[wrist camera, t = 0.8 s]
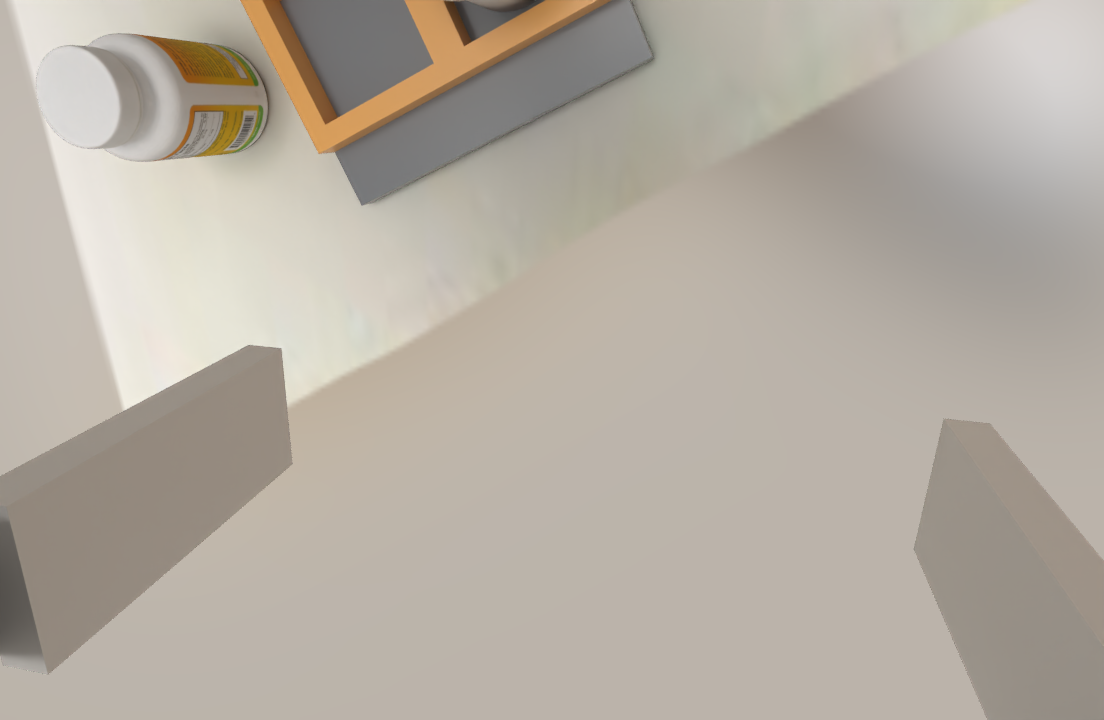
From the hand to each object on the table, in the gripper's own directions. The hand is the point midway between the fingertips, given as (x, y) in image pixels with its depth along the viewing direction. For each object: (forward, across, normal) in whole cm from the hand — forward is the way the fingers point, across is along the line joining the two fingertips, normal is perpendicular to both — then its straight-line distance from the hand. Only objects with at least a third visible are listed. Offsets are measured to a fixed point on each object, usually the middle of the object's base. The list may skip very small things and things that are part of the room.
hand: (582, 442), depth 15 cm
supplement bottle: (+24, -23, +6) cm, 34 cm away
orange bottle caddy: (+24, -11, +11) cm, 28 cm away
